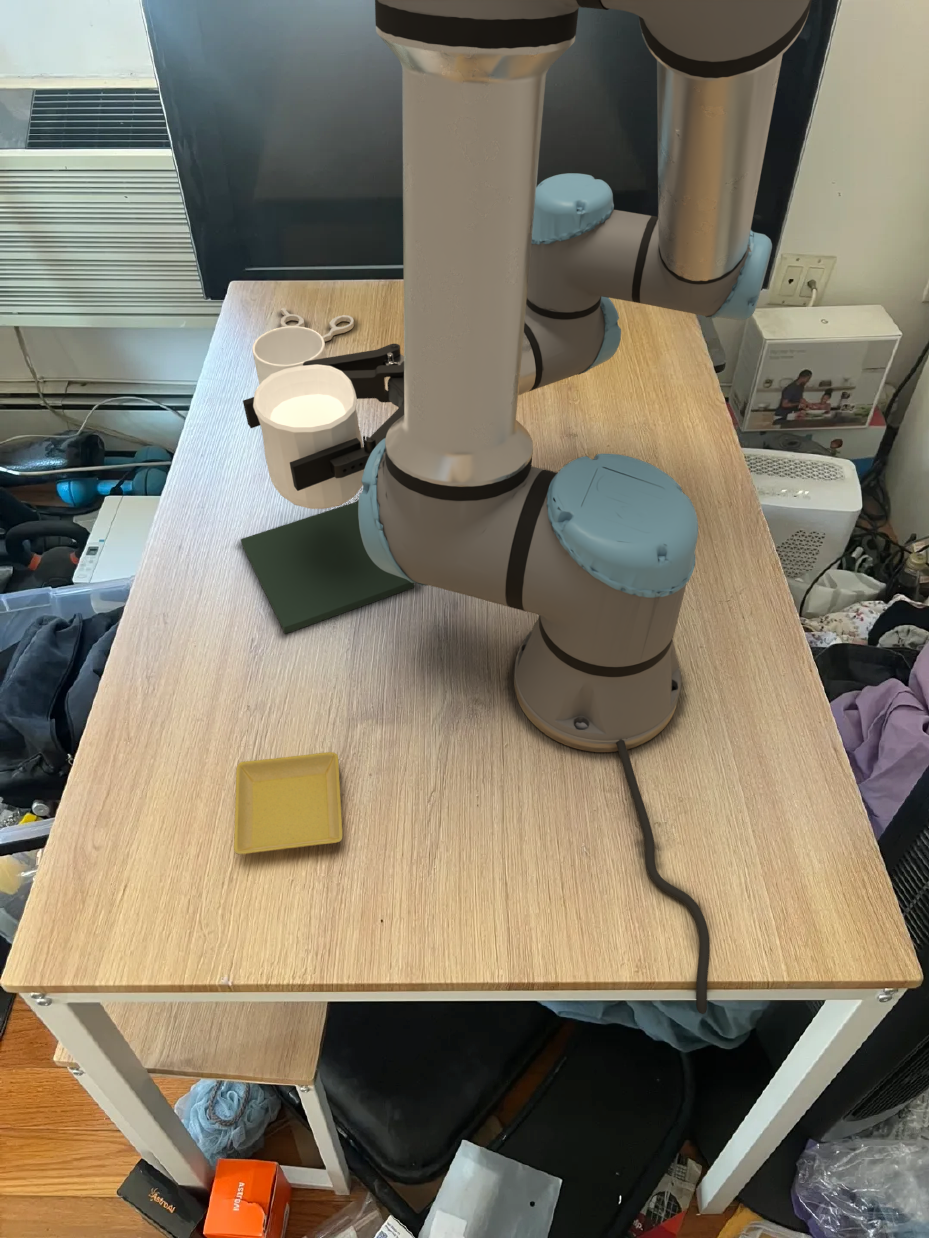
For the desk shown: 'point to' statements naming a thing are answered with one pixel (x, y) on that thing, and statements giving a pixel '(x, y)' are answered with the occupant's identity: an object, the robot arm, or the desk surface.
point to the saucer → (287, 803)
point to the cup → (307, 429)
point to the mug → (286, 349)
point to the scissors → (332, 324)
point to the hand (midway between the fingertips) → (269, 444)
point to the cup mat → (318, 568)
